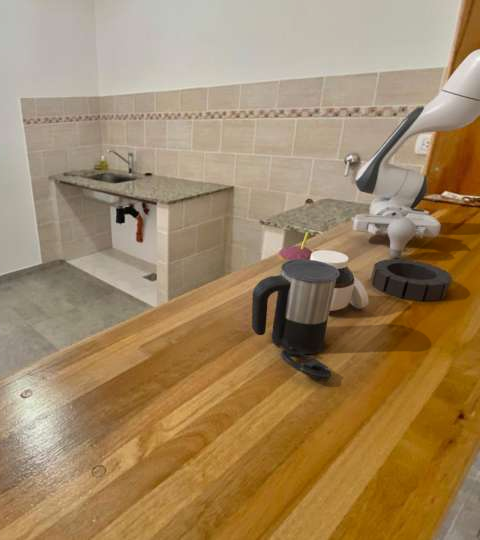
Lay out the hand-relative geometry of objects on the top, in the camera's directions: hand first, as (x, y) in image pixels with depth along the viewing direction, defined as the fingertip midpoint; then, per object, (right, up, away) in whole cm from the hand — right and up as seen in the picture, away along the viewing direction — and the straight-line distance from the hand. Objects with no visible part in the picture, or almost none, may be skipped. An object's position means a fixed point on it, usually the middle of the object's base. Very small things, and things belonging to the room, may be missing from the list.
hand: (398, 233), depth 102 cm
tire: (-9, -14, -14) cm, 22 cm away
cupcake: (-30, -11, -5) cm, 32 cm away
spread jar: (-29, -18, -20) cm, 40 cm away
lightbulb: (-1, -7, 0) cm, 7 cm away
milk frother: (-43, -25, -34) cm, 60 cm away
